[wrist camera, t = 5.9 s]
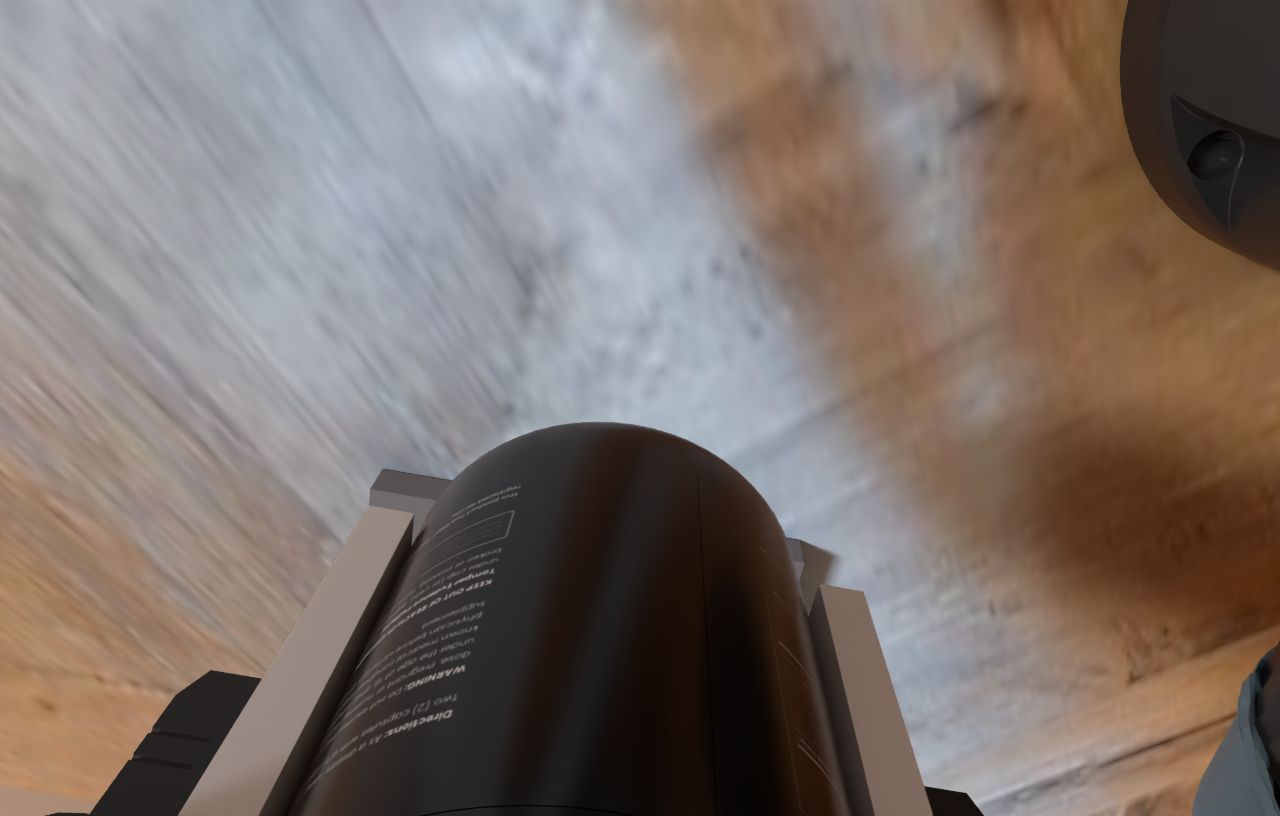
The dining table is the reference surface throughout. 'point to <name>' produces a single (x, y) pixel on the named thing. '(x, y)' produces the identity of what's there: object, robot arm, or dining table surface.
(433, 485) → the board
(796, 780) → the supplement bottle
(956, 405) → the dining table surface
